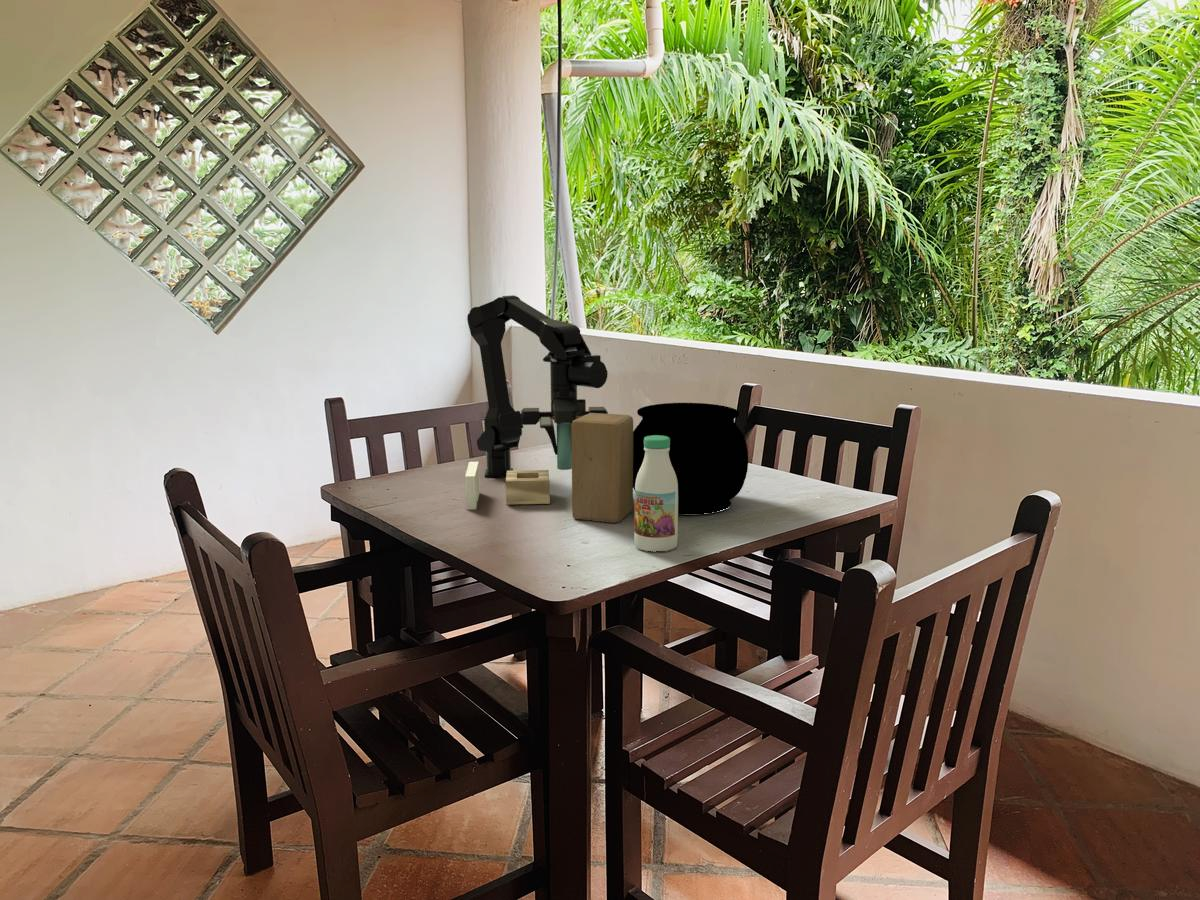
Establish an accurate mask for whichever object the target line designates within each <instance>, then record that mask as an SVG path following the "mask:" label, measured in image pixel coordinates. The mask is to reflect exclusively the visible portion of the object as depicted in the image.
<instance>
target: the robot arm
mask: <svg viewBox="0 0 1200 900" xmlns="http://www.w3.org/2000/svg"><path fill="white" fill-rule="evenodd" d="M510 320H512V321H514V322H515V323H517V324H519V325H520V326H521V327H523V328H525V329H526V330H527V331H530V332H531V333H533V334H534V335H536V336H537V337H538V339H539V343H540V344H541V346H543V347H544V348H545V349H546V350H548V354H546V355H545V356H544V357H543V358H542V361H543V362H546V363H549V365H550V369H549V370H550V411H540V407H523V408H522V409H521V410H515V409H514V407H513V406H512V405H511V402H510V401H511V400H510V395H509V388H508V381H507V376H506V375H507V374H506V368H505V363H504V362H505V361H504V353H503V349H502V341H503V339H504V336H505V334H506V329H507V328H506V323H508V321H510ZM466 321H467V324H468V325H467V326H468V329H469V332H470V335H471V337H472V338H473V339H474V341H475V342H476V344H477V345H478V347H479V350H480V357H481V364H482V365H481V366H482V370H483V371H482V372H483V377H484V382H485V383H484V385H485V391H486V397H487V402H488V410H487V412H486V415H485V417H484V420H483V421H484V422H483V424H484V431H482V433H481V435H480V436H479V437H478V438H477V440H476V445H477V450H478V451H482V452H484V453H486V455H485V456H486V468H485V470H484V477H485V478H495V477H502V478H503V477H505V478H506V474H507V471H514V468H513V467H512V461H511V460H512V459H511V457H512V456H511V452H512V451H511V450H512V449H513V448H518V447H519V444H520V440H521V436H522V435H523V434H522V433H523V429H524V426H530V425H534V426H535V425H537V424H538V423H539V428H540V429H545V431H546V433H547V435H548V436H549V440H550V442H551V445H552V449H553V452H554V454H555V456H557V436H556V431H555V425H554V424H556V425H557V424H561V423H572V422H573V421H574V420H576V419H578V418H580V417H582V416H584V415H586V414H589V413H602V414H609V412H608V410H607V409H606V407H605V406H588V409H587V407H586V406H587V405H586V403H587V402H586V399H584V398H583V399H580V398H579V399H578V387H584V388H585V387H586V388H592V389H600V388H602V387H603V386H604V385H605V384H606V381H607V379H608V374H609V373H608V370H607V367H606V364H605V363H604V362H603V361H601V355H600V354H593V355H592V352H591V351H590V349H589V347H588V345H587V344H586V341H585V339H584V337H583V335H582V334H581V329H580V327H578V326H577V325H576V324H572V323H570V322H567V321H563V320H558V319H553V318H552V317H551V318H550V317H549V316H547V315H545V313H542V312H541V311H540V310H537V309H536V308H534V307H533V306H531V305H529V304H528V303H526V302H525V301H523V300H521V298H519V296H517V295H514V294H513V295H501V296H499V297H497V298H495V299H493V300H492V301H490V302H487V303H484V304H482V305H479V306H474V307H472V308H471V309H470V310H469V312H468V314H467V318H466ZM586 409H587V410H586Z"/></svg>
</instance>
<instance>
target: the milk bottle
mask: <svg viewBox="0 0 1200 900" xmlns="http://www.w3.org/2000/svg"><path fill="white" fill-rule="evenodd" d="M644 450H645V457H644V460H643V463H642V465H641V468H640V470H639V472H638V474H637V478H636V483H635V490H634V522H633V523H634V530H633V531H634V534H633V535H634V540H633V541H634V546H635V547H636V548H637V549H638V550H640V551H643V550H644V552H648V551H651V553H657V552H656V551H665V552H668V551H667V550H670V551H672V550H671V549H673V548H675V547H676V548H677V546H678V537H679V536H678V534H679V533H678V531H679V529H678V528H679V519H678V518H679V515H678V483H677V477H676V474H675V471H674V469H673V467H672V465H671V462H670V458H669V450H670V438H669V437H666V436H660V435H653V436H647V437H645V438H644ZM676 548H675V549H676ZM673 550H674V549H673ZM652 551H653V552H652Z"/></svg>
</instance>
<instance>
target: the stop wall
mask: <svg viewBox="0 0 1200 900" xmlns="http://www.w3.org/2000/svg"><path fill="white" fill-rule="evenodd" d="M464 482H465V483H464V484H465V485H464V486H465V488H464V489H465V508H466V509H467V510H477V506H478V503H479V497H480V490H481V489H480V464H479V461H468V465H467V469H466V471H465V476H464ZM477 502H478V503H477Z"/></svg>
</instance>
